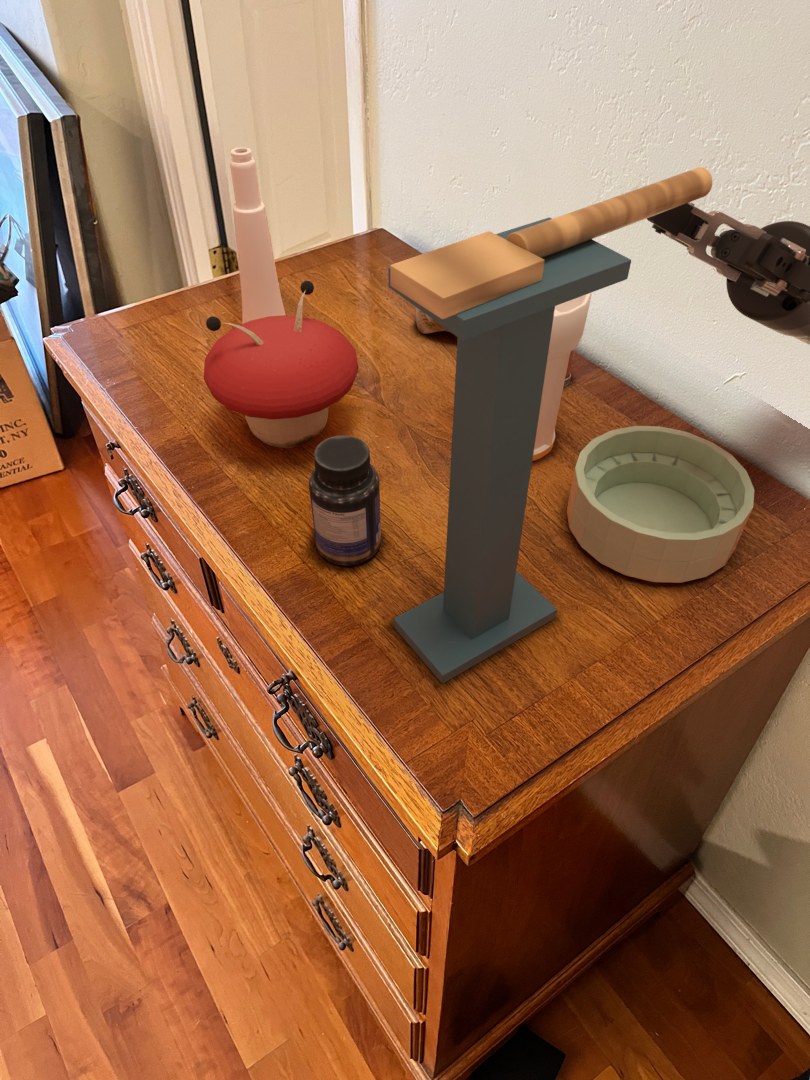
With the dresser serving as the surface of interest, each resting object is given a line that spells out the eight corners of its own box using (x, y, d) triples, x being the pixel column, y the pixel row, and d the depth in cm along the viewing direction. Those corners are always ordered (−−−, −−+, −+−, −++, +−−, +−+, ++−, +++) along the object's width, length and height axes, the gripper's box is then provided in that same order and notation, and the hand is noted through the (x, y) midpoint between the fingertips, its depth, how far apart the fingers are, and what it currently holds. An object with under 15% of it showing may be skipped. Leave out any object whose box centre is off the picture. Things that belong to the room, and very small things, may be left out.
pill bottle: (344, 513, 77) (337, 420, 69) (394, 539, 74) (393, 446, 67) (302, 550, 73) (289, 457, 66) (353, 578, 71) (347, 485, 63)
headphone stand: (555, 618, 68) (631, 259, 45) (442, 684, 63) (463, 320, 40) (503, 568, 72) (549, 216, 49) (393, 627, 67) (387, 267, 44)
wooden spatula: (669, 185, 53) (676, 157, 51) (725, 208, 50) (734, 178, 49) (390, 285, 43) (389, 253, 41) (442, 320, 40) (443, 286, 39)
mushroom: (315, 371, 94) (303, 249, 84) (389, 438, 85) (387, 311, 75) (192, 416, 88) (163, 291, 77) (258, 494, 79) (235, 364, 68)
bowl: (769, 541, 74) (791, 493, 70) (652, 613, 68) (669, 566, 64) (646, 454, 83) (658, 407, 79) (533, 511, 77) (540, 463, 73)
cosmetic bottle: (253, 351, 97) (224, 164, 82) (235, 328, 101) (204, 146, 86) (298, 337, 100) (278, 154, 84) (278, 316, 103) (256, 136, 88)
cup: (561, 477, 81) (589, 323, 68) (451, 463, 82) (459, 310, 70) (567, 413, 88) (594, 264, 76) (467, 401, 90) (477, 253, 78)
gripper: (750, 208, 67) (655, 138, 55) (908, 274, 58) (834, 206, 47) (699, 292, 70) (599, 241, 58) (842, 366, 61) (758, 323, 50)
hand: (704, 226), depth 53 cm, fingers open, 8 cm apart
